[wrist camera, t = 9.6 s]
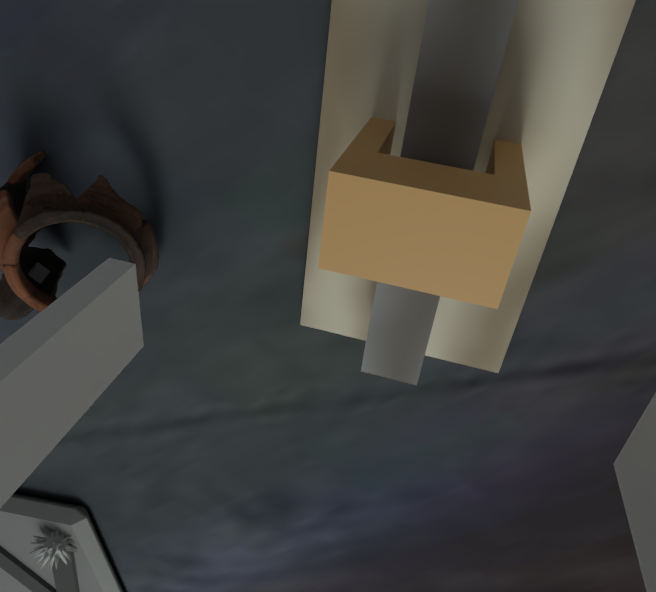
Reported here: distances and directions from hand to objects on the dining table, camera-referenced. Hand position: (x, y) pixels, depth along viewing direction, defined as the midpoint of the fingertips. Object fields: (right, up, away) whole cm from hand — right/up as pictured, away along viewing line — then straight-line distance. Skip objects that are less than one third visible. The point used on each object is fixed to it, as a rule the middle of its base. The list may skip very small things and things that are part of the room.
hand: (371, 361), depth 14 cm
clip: (+4, +8, +12) cm, 15 cm away
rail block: (+4, +8, +13) cm, 16 cm away
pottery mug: (-16, +6, +21) cm, 28 cm away
